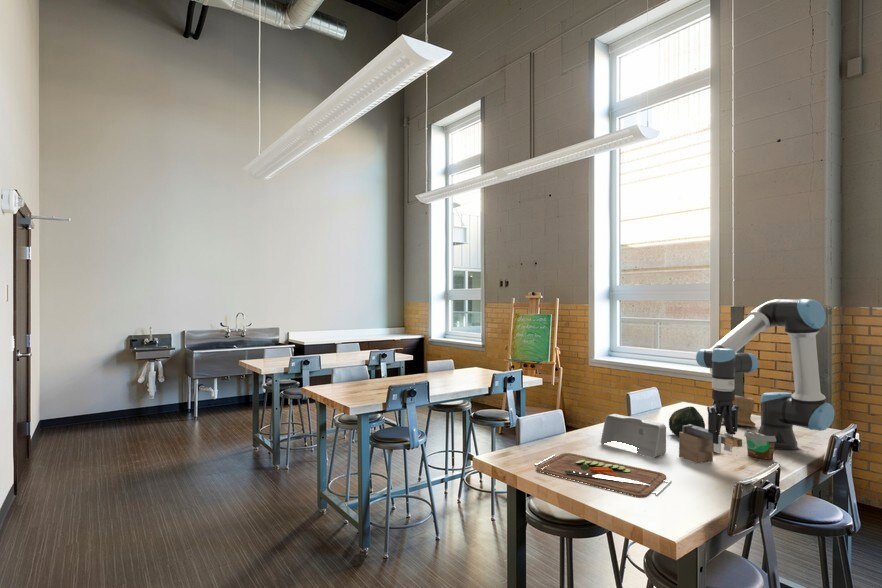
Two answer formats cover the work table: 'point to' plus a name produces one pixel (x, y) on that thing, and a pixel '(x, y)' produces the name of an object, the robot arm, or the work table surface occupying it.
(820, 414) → the robot arm
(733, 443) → the bar
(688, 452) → the tong rest
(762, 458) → the food container
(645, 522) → the work table surface
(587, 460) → the chopping board
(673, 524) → the work table surface
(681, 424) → the squash
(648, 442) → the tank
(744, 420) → the brown upright flared piece
